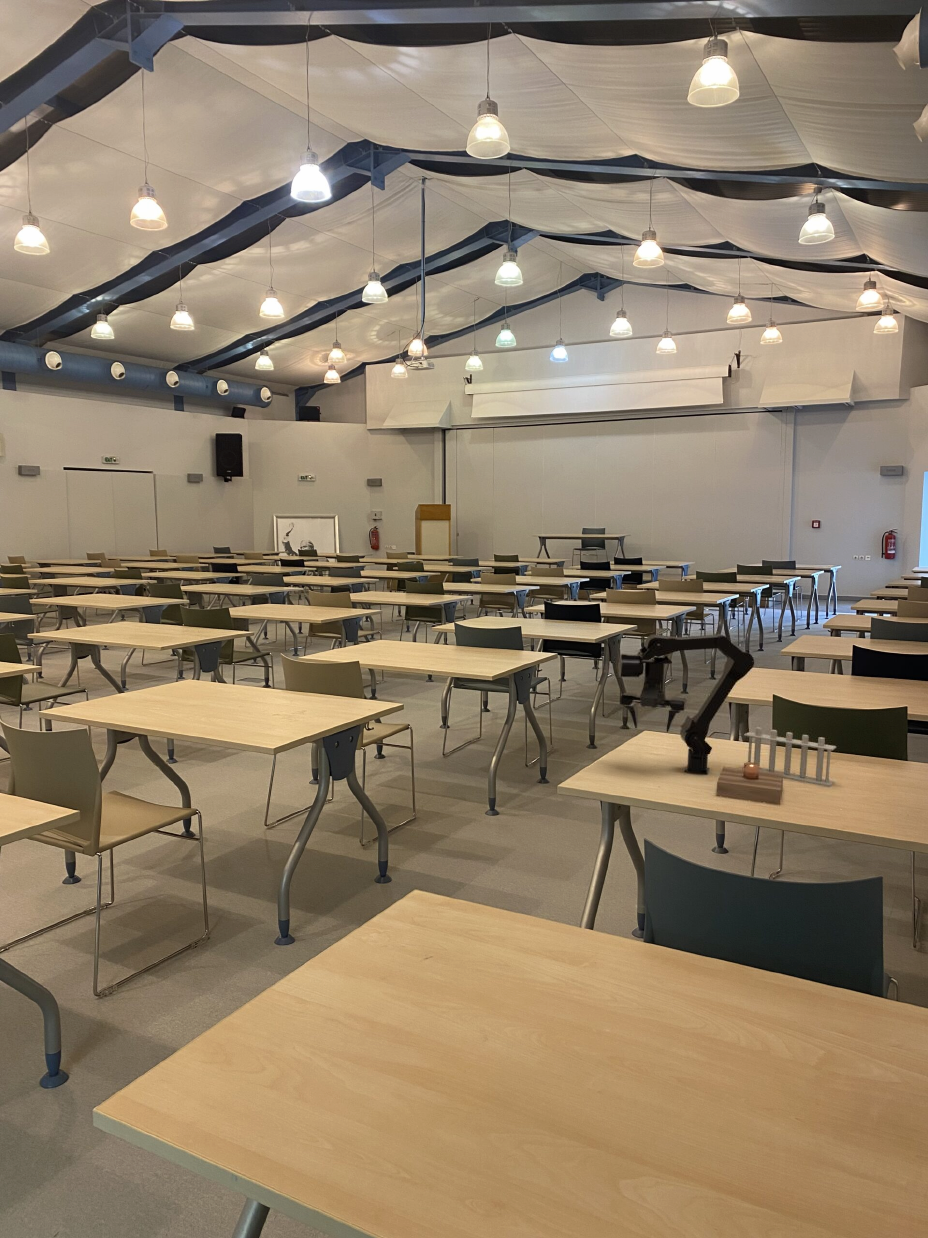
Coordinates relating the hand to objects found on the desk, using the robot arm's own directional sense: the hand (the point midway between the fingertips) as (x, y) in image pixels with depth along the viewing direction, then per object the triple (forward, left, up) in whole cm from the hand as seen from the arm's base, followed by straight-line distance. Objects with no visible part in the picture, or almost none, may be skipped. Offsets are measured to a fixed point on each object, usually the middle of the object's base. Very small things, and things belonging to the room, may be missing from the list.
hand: (651, 730), depth 246 cm
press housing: (+9, +29, -12) cm, 33 cm away
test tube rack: (-11, +38, -12) cm, 41 cm away
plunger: (+9, +29, -12) cm, 32 cm away
